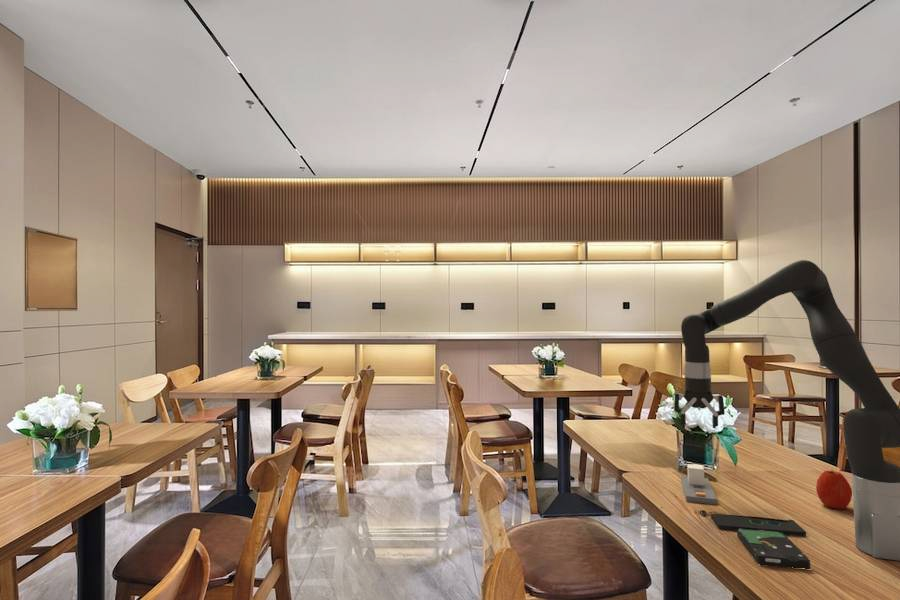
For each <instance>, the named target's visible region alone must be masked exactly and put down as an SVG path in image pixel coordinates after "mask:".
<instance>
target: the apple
mask: <svg viewBox="0 0 900 600" xmlns="http://www.w3.org/2000/svg"><path fill="white" fill-rule="evenodd" d="M851 487H852V486H851V485H850V483H849V482H848V480H847V478H846V477H845V476H844V475H843V474H842V473H841V472H839V471H834V470H824V471H823V472H822V473H820V475H819V476H818V478H817V479H816V487H815V489H816V495H817V497H818V499H819V500H820V502H821V504H823V505H824V506H825V507H827V508H831V509H834V508H835V509H836V510H845V509H846V508H847V507H848V506H849V505H850V503H851V501H852V498H853V488H851Z"/></svg>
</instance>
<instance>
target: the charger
mask: <svg viewBox="0 0 900 600" xmlns="http://www.w3.org/2000/svg"><path fill="white" fill-rule="evenodd" d="M686 468H687V469H686V470H687V476H688V482H689V484H695V485H705V480H704V478H705V469H704V466H703V465H701V464H689V463H688V464H687V466H686Z"/></svg>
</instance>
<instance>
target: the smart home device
mask: <svg viewBox="0 0 900 600" xmlns="http://www.w3.org/2000/svg"><path fill="white" fill-rule="evenodd" d="M710 519H711V520H712V521H713V523H714V524H715V526H716V527H717V528H718V529H719V530H721V531H722V530H723V531H732V532H733V531H735V532H737V531H738V530H739V528H741V529H745V530H765V531H778V532H783V533H784V534H785V535H786V536H791V535H792V537H793V535H794V537H807V531H806V530H805V529H804V528H803V527H802V526H801V525H799V524H798V523H797V522H796V521H795V520H794V519H789V518H788V519H787V520H786V519H780V518H770V517H762V516H749V515H737V514H723V513H711V514H710Z"/></svg>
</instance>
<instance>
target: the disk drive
mask: <svg viewBox="0 0 900 600" xmlns="http://www.w3.org/2000/svg"><path fill="white" fill-rule="evenodd" d="M736 533H737V538H738V540H739V541H740V543H741V544H742V545H743V546H744V548H745V549H746V550H747V552H748V551H749V552H748V553H749V554H750V556H753V557H752V558H753V560H754V559H755V560H754V561H755V563H757V564H760V565H759V566H763V565H767V567H775V568H783V567H789V568H788V569H793V568H805V569H811V560H810V559H809V557H808V556H807V555H806V554H804V552H803V551H802V550H801V549H800V548H799V547H797V545H796V544H795V543H794V542H793V541H792V540H791V539H789V537H788V535H785V534H784V533H783V532H778V531H765V530H745V529H741V528H739V530H738V531H736ZM790 567H791V568H790ZM792 567H793V568H792Z"/></svg>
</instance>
